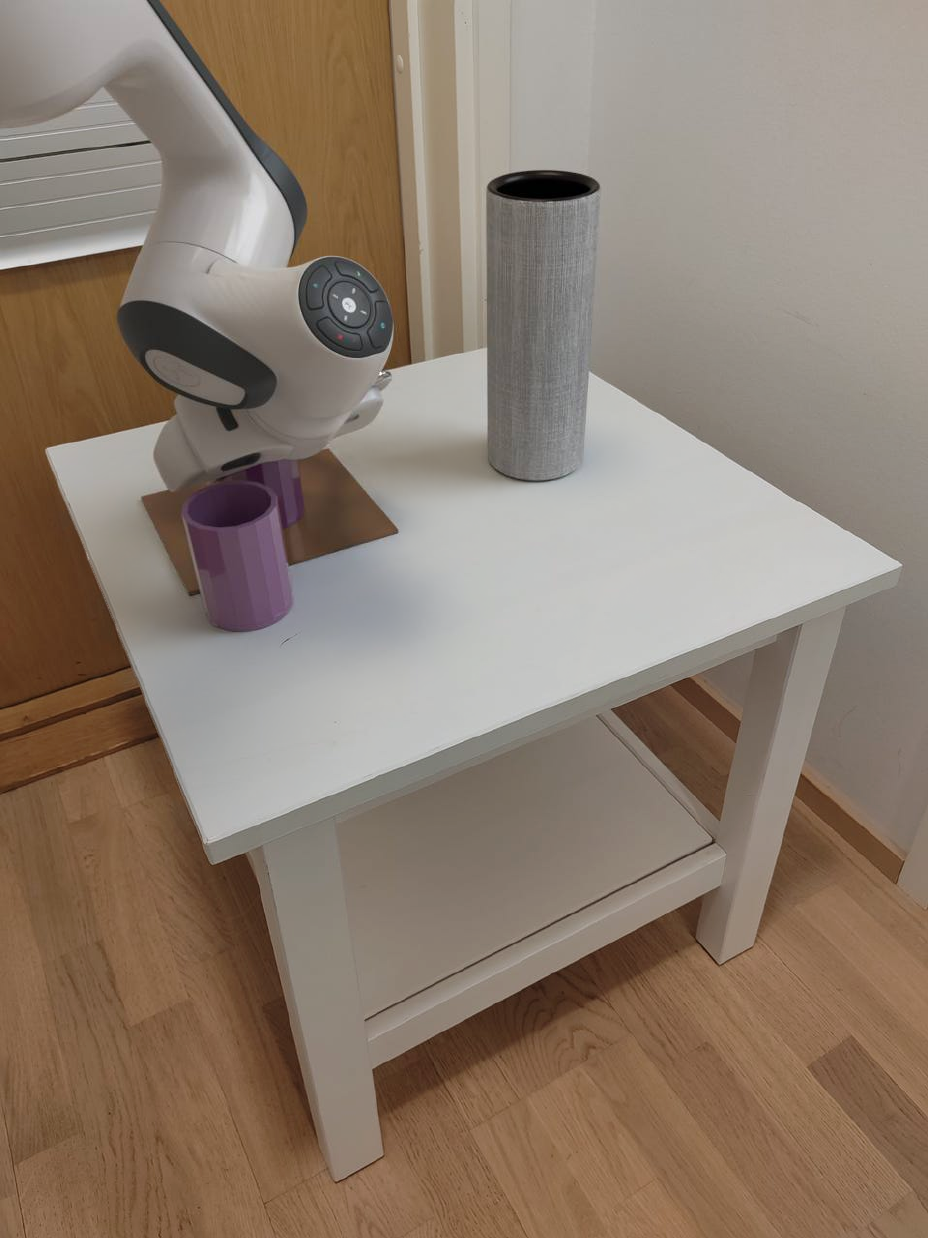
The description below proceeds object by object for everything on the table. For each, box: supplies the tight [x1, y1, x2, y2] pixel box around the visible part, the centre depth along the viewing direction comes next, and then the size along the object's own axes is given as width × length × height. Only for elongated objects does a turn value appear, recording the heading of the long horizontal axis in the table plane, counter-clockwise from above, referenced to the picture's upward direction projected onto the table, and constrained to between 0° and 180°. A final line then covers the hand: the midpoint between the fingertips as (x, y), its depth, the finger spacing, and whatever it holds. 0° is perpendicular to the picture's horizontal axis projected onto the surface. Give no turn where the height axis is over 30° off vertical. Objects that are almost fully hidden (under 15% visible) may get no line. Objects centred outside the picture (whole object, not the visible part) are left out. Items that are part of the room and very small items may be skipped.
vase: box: [485, 169, 602, 482], centre depth 92 cm, size 10×10×27 cm
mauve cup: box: [181, 480, 294, 632], centre depth 78 cm, size 7×7×10 cm
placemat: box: [140, 447, 399, 596], centre depth 92 cm, size 20×18×1 cm
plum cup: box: [220, 459, 305, 529], centre depth 89 cm, size 7×7×10 cm
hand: (254, 460), depth 89 cm, fingers closed on plum cup, 7 cm apart
